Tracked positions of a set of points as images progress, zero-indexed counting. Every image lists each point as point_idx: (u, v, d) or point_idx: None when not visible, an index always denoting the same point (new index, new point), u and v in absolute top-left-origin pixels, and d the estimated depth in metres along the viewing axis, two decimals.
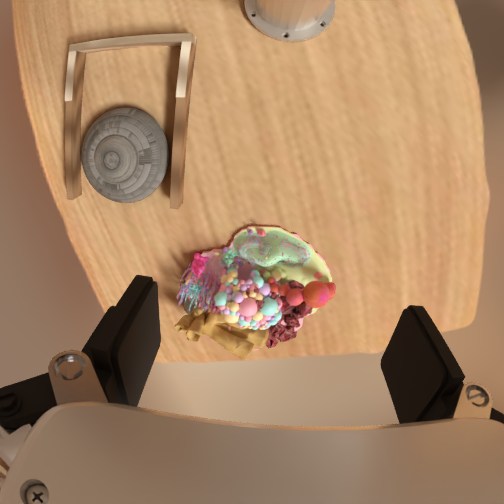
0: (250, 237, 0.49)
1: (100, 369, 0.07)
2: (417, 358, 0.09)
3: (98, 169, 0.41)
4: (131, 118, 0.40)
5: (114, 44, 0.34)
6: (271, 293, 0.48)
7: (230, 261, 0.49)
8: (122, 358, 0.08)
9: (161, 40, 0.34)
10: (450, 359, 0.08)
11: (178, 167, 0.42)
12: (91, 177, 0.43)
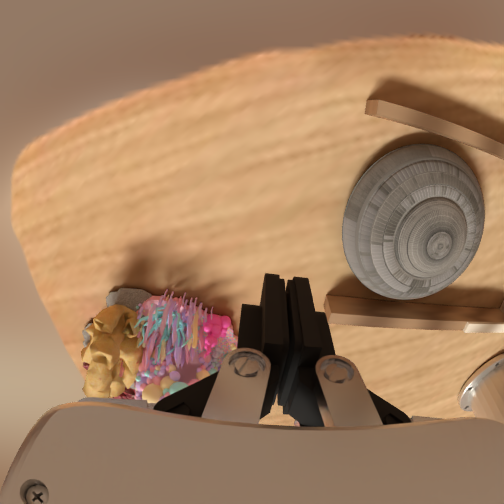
0: None
1: None
2: (287, 327, 0.10)
3: (429, 208, 0.22)
4: (469, 263, 0.25)
5: None
6: None
7: None
8: None
9: None
10: (311, 328, 0.09)
11: (388, 326, 0.28)
12: (414, 178, 0.22)
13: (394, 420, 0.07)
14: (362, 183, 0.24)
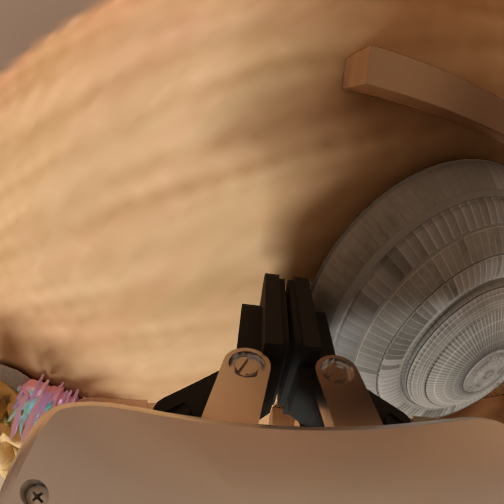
0: None
1: None
2: (287, 327, 0.10)
3: (485, 308, 0.09)
4: None
5: None
6: None
7: None
8: None
9: None
10: (311, 328, 0.09)
11: None
12: (463, 241, 0.09)
13: (394, 420, 0.07)
14: (346, 247, 0.11)
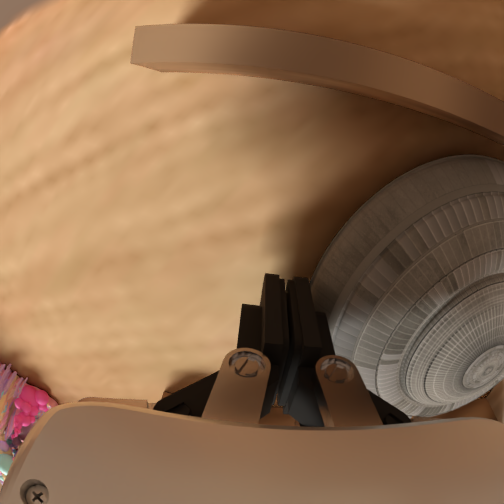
0: None
1: None
2: (287, 327, 0.10)
3: (484, 303, 0.09)
4: None
5: None
6: None
7: None
8: None
9: None
10: (311, 328, 0.09)
11: None
12: (463, 234, 0.09)
13: (394, 420, 0.07)
14: (345, 240, 0.11)
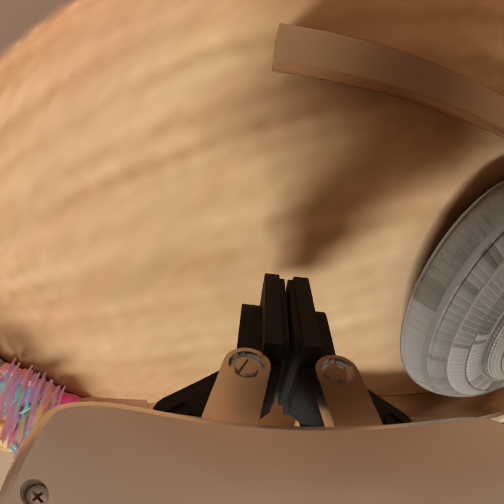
0: None
1: None
2: (287, 327, 0.10)
3: None
4: None
5: None
6: None
7: None
8: None
9: None
10: (311, 328, 0.09)
11: None
12: None
13: (394, 420, 0.07)
14: (452, 241, 0.12)
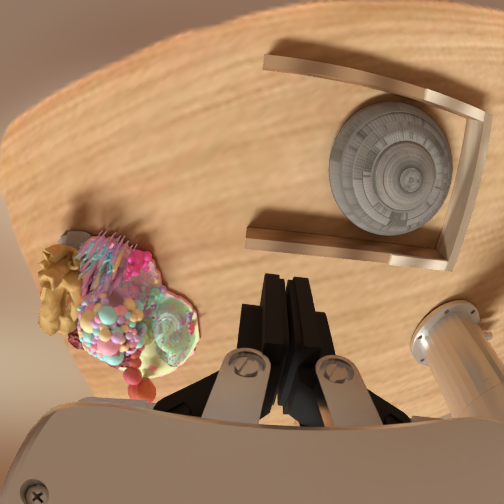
0: (184, 317, 0.40)
1: None
2: (287, 327, 0.10)
3: (399, 149, 0.27)
4: (441, 202, 0.30)
5: (473, 181, 0.28)
6: (128, 355, 0.37)
7: (152, 304, 0.37)
8: None
9: (457, 240, 0.31)
10: (311, 328, 0.09)
11: (303, 253, 0.33)
12: (385, 125, 0.27)
13: (394, 420, 0.07)
14: (343, 131, 0.29)
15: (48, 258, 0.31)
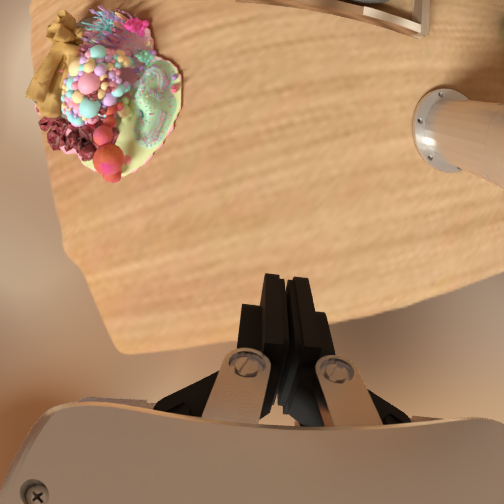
0: (168, 77, 0.36)
1: None
2: (287, 327, 0.10)
3: None
4: None
5: None
6: (105, 107, 0.33)
7: (140, 58, 0.33)
8: None
9: (423, 7, 0.27)
10: (311, 328, 0.09)
11: None
12: None
13: (394, 420, 0.07)
14: None
15: (60, 19, 0.27)
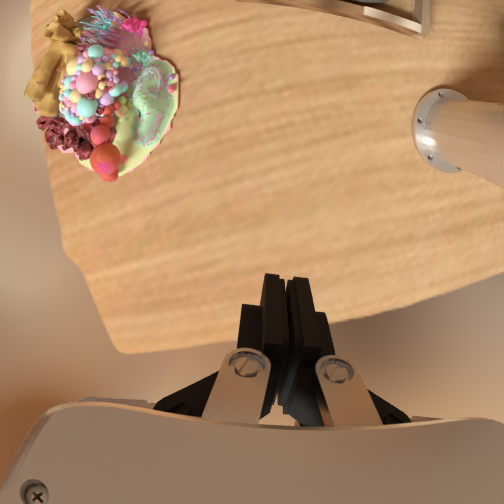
0: (165, 77, 0.36)
1: None
2: (287, 327, 0.10)
3: None
4: None
5: None
6: (102, 107, 0.33)
7: (138, 57, 0.33)
8: None
9: (423, 7, 0.27)
10: (311, 328, 0.09)
11: None
12: None
13: (394, 420, 0.07)
14: None
15: (59, 18, 0.27)
